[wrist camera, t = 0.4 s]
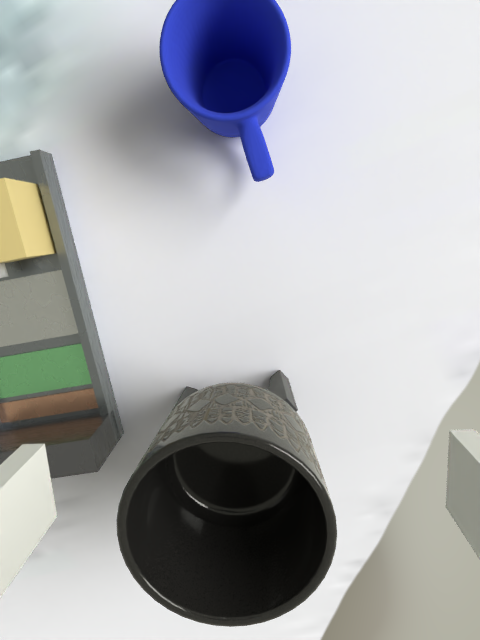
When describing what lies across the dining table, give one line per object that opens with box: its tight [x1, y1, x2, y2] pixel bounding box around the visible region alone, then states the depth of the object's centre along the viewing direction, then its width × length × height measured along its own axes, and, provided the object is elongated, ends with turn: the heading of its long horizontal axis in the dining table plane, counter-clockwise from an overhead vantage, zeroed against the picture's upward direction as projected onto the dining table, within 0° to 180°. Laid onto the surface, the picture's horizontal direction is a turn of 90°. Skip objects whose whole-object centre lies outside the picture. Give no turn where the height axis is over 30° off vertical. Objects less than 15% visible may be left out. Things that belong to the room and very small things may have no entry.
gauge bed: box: [0, 150, 123, 444], centre depth 40 cm, size 27×12×2 cm, turn 11°
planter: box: [117, 370, 337, 627], centre depth 34 cm, size 13×13×18 cm
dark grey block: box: [0, 410, 120, 478], centre depth 40 cm, size 3×12×6 cm, turn 101°
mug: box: [160, 0, 291, 182], centre depth 32 cm, size 8×12×10 cm
